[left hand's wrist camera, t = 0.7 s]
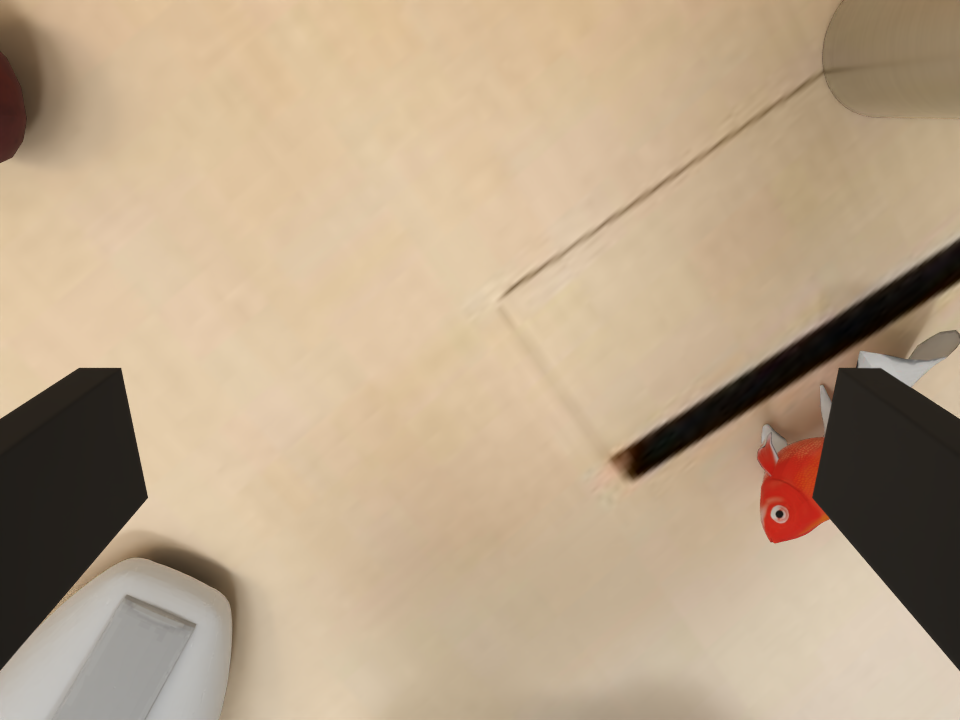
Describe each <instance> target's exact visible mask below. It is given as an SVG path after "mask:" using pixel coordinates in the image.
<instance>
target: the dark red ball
mask: <svg viewBox="0 0 960 720" xmlns="http://www.w3.org/2000/svg"><path fill="white" fill-rule="evenodd" d="M26 120H27V118H26V112H25V106H24V101H23V95H22V90H21V86H20V84H19V82H18V80H17V78H16V76H15V74H14V72H13V70H12V68H11V66H10V64H9V62H8V60H7V58H6V57H5V56H4V55H3V54H2V53H1V52H0V163H1V162H3V161H6V160H8V159H10V158H12V157H13V156H14V154H15V153H16V151H17V149H18V148H19V146H20V145H21V143H22V142H23V138H24V133H25V126H26Z"/></svg>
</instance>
